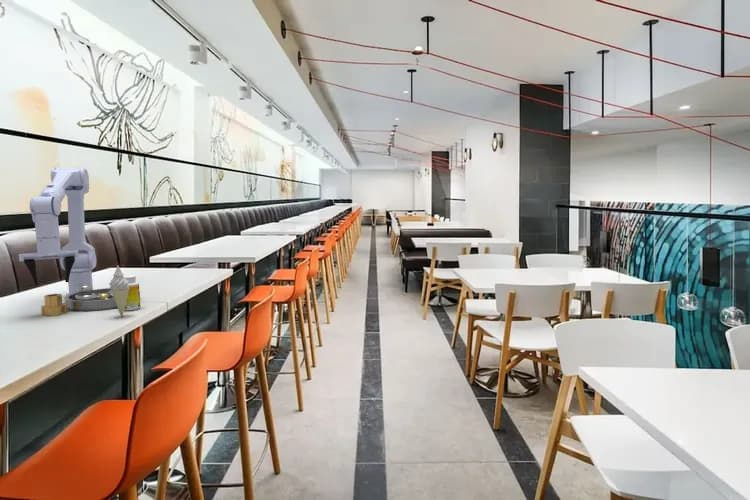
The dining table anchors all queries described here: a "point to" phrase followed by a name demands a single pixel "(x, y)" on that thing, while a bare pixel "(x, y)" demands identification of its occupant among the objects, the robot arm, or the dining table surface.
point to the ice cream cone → (119, 289)
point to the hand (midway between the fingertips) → (51, 283)
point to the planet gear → (53, 305)
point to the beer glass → (132, 294)
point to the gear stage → (90, 299)
